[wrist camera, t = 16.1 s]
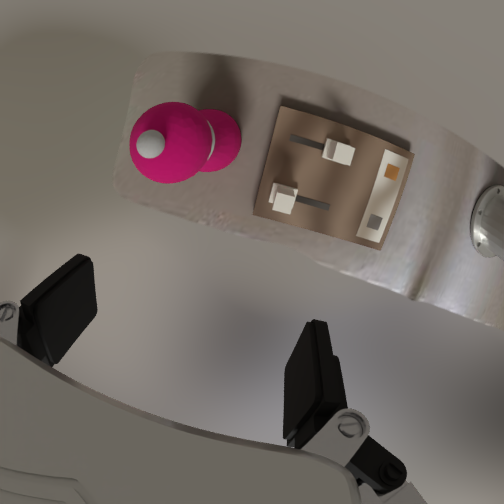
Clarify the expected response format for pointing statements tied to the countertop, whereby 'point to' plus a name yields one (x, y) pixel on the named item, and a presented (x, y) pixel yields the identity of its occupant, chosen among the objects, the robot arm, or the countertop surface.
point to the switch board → (334, 179)
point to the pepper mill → (183, 141)
